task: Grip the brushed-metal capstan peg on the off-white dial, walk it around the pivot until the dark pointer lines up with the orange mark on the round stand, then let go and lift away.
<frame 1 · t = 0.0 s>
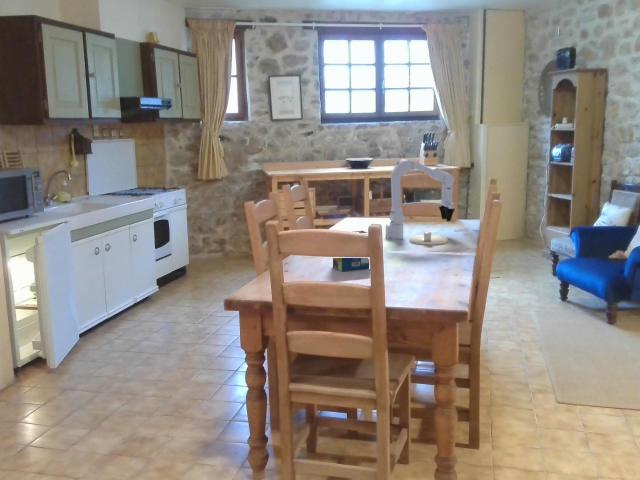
hand: (446, 220, 335), 10 cm above the table, tool pointing down, fingers open, 7 cm apart
stand base: (428, 243, 322), on the table
dial: (428, 235, 321), point 4 cm above the table, hinge at -55.0°
protein box: (352, 268, 271), on the table
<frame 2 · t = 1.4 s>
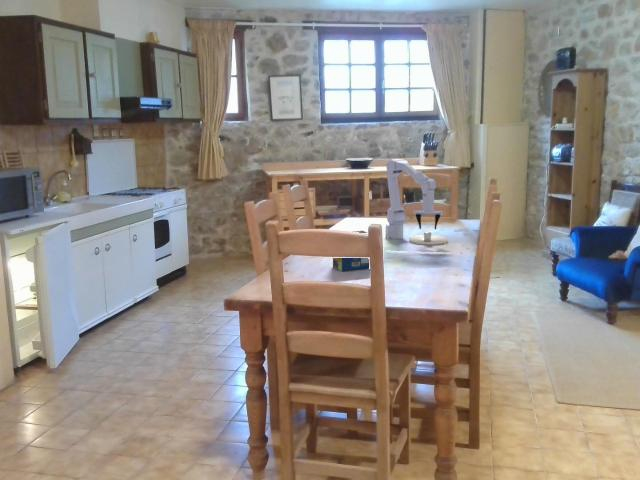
hand: (427, 229, 313), 9 cm above the table, tool pointing down, fingers open, 7 cm apart
nothing on the table moved.
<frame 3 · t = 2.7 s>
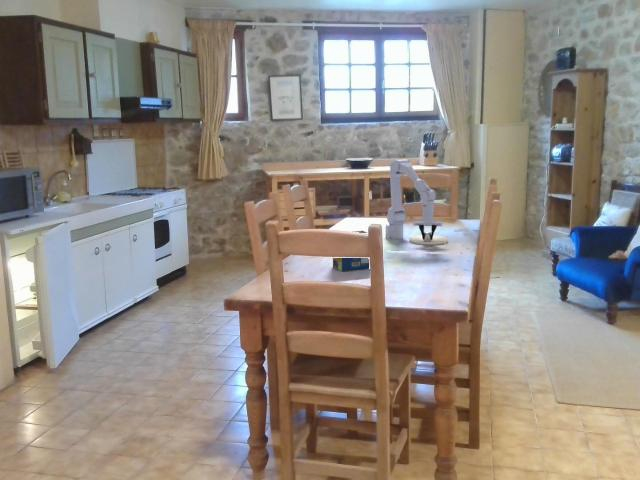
hand: (427, 239, 314), 4 cm above the table, tool pointing down, fingers closed on dial, 4 cm apart
dial: (428, 235, 321), point 4 cm above the table, hinge at -55.0°, touching gripper
everything else where it was.
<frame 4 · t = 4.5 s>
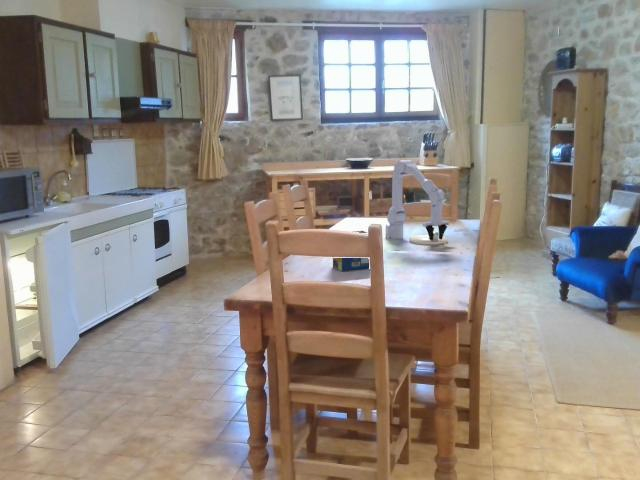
hand: (435, 239, 314), 4 cm above the table, tool pointing down, fingers open, 5 cm apart
dial: (428, 235, 321), point 4 cm above the table, hinge at -28.4°, touching gripper
everything else where it was.
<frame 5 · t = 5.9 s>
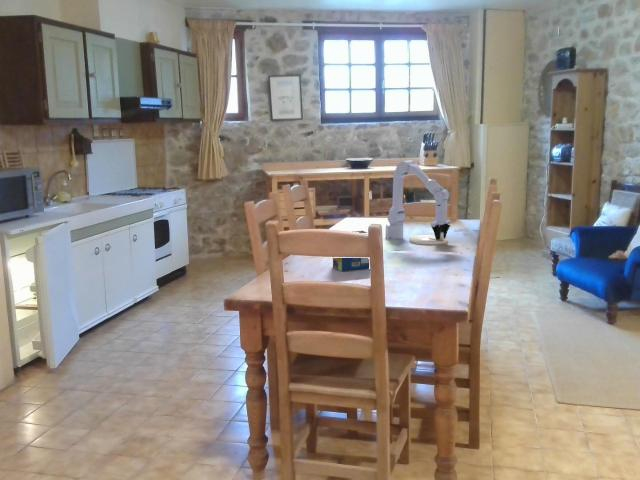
hand: (440, 238, 316), 4 cm above the table, tool pointing down, fingers open, 4 cm apart
dial: (428, 235, 321), point 4 cm above the table, hinge at -3.3°, touching gripper
everything else where it was.
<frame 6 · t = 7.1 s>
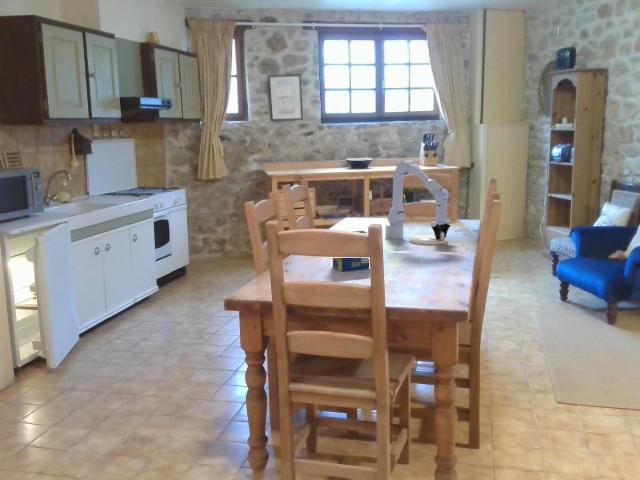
hand: (440, 238, 316), 4 cm above the table, tool pointing down, fingers open, 4 cm apart
dial: (428, 235, 321), point 4 cm above the table, hinge at -0.1°
everything else where it was.
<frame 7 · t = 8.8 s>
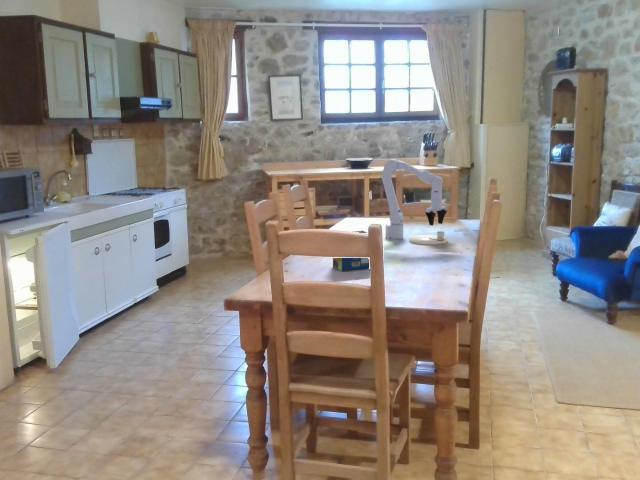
hand: (435, 224, 326), 9 cm above the table, tool pointing down, fingers open, 7 cm apart
nothing on the table moved.
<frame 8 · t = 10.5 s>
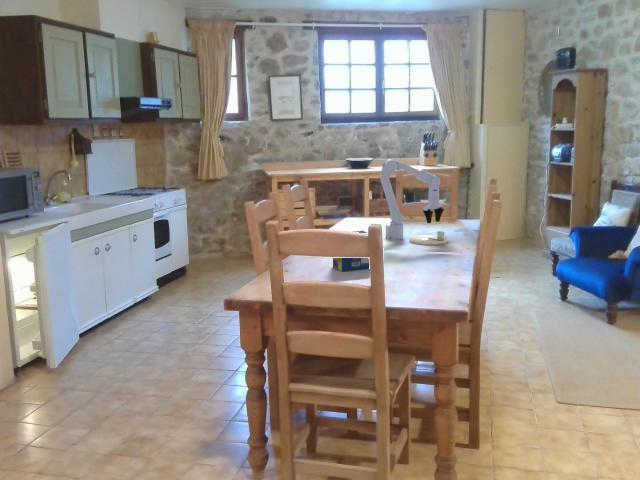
hand: (433, 222, 332), 9 cm above the table, tool pointing down, fingers open, 7 cm apart
nothing on the table moved.
at the end: dial at +0° (first picture: -55°); the gripper is holding nothing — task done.
